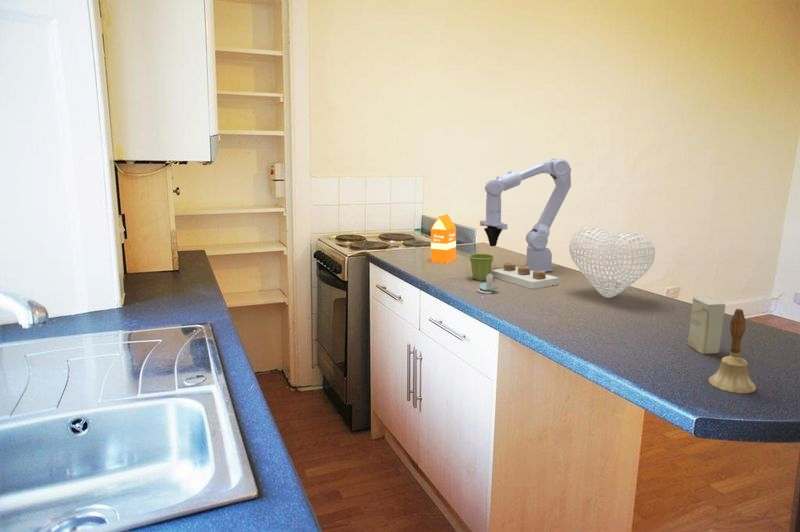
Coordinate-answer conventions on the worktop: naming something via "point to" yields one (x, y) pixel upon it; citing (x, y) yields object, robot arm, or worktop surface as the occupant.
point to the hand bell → (734, 362)
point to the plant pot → (481, 265)
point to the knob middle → (523, 270)
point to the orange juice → (443, 240)
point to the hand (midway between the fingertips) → (493, 245)
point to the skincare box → (706, 325)
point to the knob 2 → (539, 274)
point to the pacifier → (489, 285)
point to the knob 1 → (509, 266)
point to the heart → (616, 236)
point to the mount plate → (524, 278)
